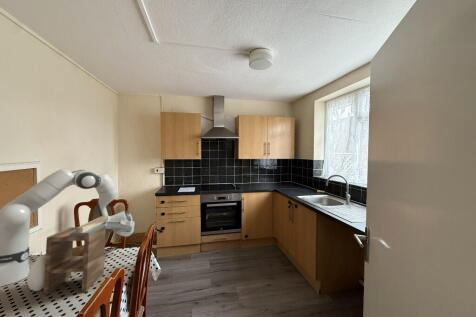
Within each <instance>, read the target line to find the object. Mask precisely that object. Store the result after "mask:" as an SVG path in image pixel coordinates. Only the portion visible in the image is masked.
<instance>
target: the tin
mask: <svg viewBox="0 0 476 317" xmlns="http://www.w3.org/2000/svg"><path fill="white" fill-rule="evenodd" d="M72 256H84V244H83V245H79V246H75V247H73V250H72Z"/></svg>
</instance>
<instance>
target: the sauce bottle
mask: <svg viewBox="0 0 476 317" xmlns="http://www.w3.org/2000/svg"><path fill="white" fill-rule="evenodd" d="M45 258H46V255H43V253H42V251H40V256H38V257H37V258H36V260H35V261H34V262H33V263H32V265H31V267H30V271H29V273H28V276H27V277H26V278H27V279H26V285H27V287H28V289H29V290H31V291H34V292H39V291H41V290H42V289H43V290H44V274H45Z"/></svg>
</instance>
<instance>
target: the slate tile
mask: <svg viewBox="0 0 476 317" xmlns="http://www.w3.org/2000/svg"><path fill="white" fill-rule="evenodd" d="M103 227H104V224H99V225H97V226H95V227H94V228H92V229H90V230H88V231H86V232H84V233H76V231H74V232H72V233H70V236H89V235H91V234H93V233H95V232H96V231H98V230H100V229H102V228H103Z"/></svg>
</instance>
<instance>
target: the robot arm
mask: <svg viewBox="0 0 476 317" xmlns="http://www.w3.org/2000/svg"><path fill="white" fill-rule="evenodd" d="M72 185H74V186H76V187H77V188H80V189H84V190H88V189H89V190H91V189H93V188H94V189H95V190H96V192H97V194H98V198H97V200H96V206H97V210H98V213H99V217H101V216H108V220H107V221H105V222H103V223H101V224H104V227H106V231H107V232H112V231H113V232H114V233H116V234H117V235H120V236H122V237H129V236H131V235H132V234H133V233H134V230H135V221H134V219H133V215H132V213H131V212H130V211H128V210H123V211H121V212H118V213H116V214H113V215H110V216H109V213H108V210H107V206H108V205H109V204H110V203H111V202H113V201H114V200H115V199H116V198H117V197H118V193H119V191H118V187H117V185H116V183H115V182H114V180H113V179H112V177H110V175H109V174H106V173H100V174H98V175H97V174H96V173H94V172H92V171H90V170H86V169H79V170H74V171H71V170H69V169H67V168H66V169H65V168H62V169H59V170H58V169H57V170H56V171H55V172H52V173H50V174H49V175H47V176H46V177H44V178H43V179H41V180H40V181H39V182H37V183H36V184H34V185H33V186H32V187H30V188H29V189H28V190H26V191H24V192H23V193H21V194H20V195H18V196H17V197H15V198H14V199H12V200H11V201H9V202H8V203H7V204H5V205H4V206H3V207H1V209H0V288H1V287H4V286H7V285H8V286H9V285H11V284H14V283H17V282H19V281H20V282H21V281H22V280H23V279H26V278H27V277H28V273H29V271H30V269H31V267H30V262H29V255H30V247H29V243H30V242H29V240H30V225H31V214H33V213H35V211H37V210H38V209H40V208H41V207H43V206H44V205H46V204H47V203H49V202H50V201H52V200H53V199H54V198H55V197H57V196H58V195H59V194H60V193H62V192H63V191H65V189H67V188H68V187H71V186H72Z"/></svg>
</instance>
